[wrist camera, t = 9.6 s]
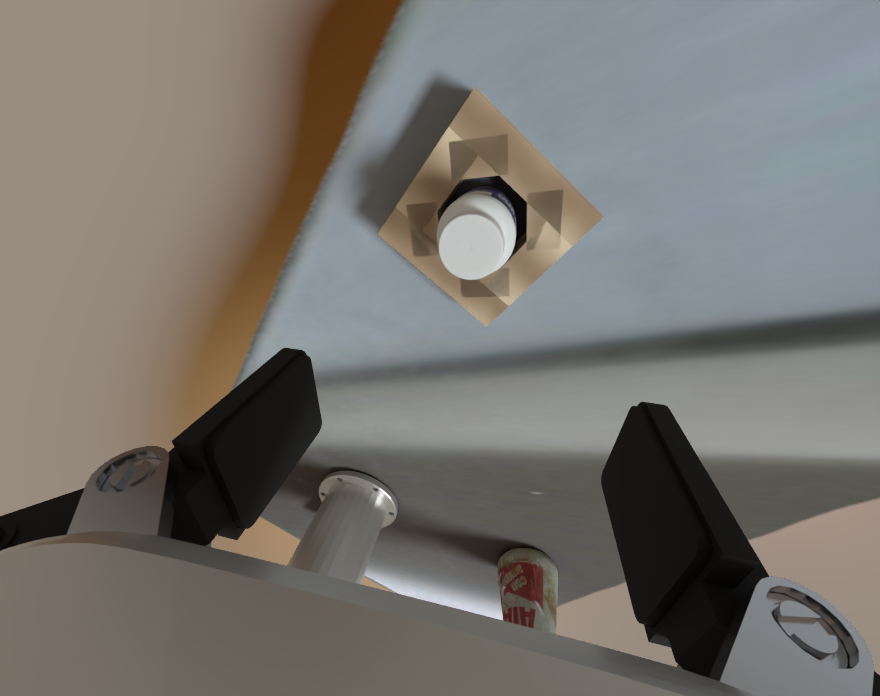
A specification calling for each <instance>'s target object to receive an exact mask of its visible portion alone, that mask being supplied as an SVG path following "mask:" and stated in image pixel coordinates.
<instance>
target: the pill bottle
mask: <svg viewBox="0 0 880 696" xmlns="http://www.w3.org/2000/svg"><path fill="white" fill-rule="evenodd" d="M515 241H516V213H515V209H514V206H513V204H512V202H511V200H510V199H509V197H508V196H507V195H506V194H505V193H504V192H502V191H501V190H499V189H497V188H494V187H490V186H480V187H476V188H473V189H471V190H469V191H467V192H466V193H464V194H463V195H462V196H461V197H459V198H458V199H457V200H456V201H454V202H453V203H452V204H450V205H449V207H448V208H447V209H446V210H445V212H444V213H443V215H442V217H441V219H440V221H439V224H438V228H437V244H438V249H439V255H440V258H441V261H442V263H443V265H444V266H445V267H446V269H447V270H448V271H449V272H450V273H452V274H453V275H455V276H457V277H459V278H461V279H466V280H476V279H480V278H483V277H485V276H487V275H489V274H491V273H493V272H495V271H496V270H498V269H499V268H501V267H502V266H503V265H504V264H505V263H506V262H507V260H508V259H509V257H510V256H511V254H512V251H513V249H514V246H515Z"/></svg>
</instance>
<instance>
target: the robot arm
mask: <svg viewBox="0 0 880 696" xmlns="http://www.w3.org/2000/svg"><path fill="white" fill-rule="evenodd" d="M321 425H322V419H321V414H320V408H319V402H318V397H317V391H316V385H315V380H314V374H313V368H312V363H311V359H310V357H309V356H307V355H306V353H305V352H304V351H303V350H297V349H290V348H283V349H282V350H280V351H279V352H278V353H277V354H276V355H274V356H273V357H272V358H271V359H270V360H268V361H267V362H266V363H265V364H264V365H262V366H261V367H260V368H259V369H258V370H256V371H255V372H254V373H253V374H252V375H250V376H249V377H248V378H247V379H246V380H244V381H243V382H242V383H241V384H240V385H238V386H237V387H236V388H235V389H234V390H232V391H231V392H230V393H229V394H228V395H226V396H225V397H224V398H223V399H222V400H221V401H219V402H218V403H217V404H216V405H214V406H213V407H212V408H211V409H210V410H209V411H207V412H206V413H205V414H204V415H202V416H201V417H200V418H199V419H198V420H196V421H195V422H194V423H193V424H192V425H191V426H189V427H188V428H187V429H186V430H184V431H183V432H182V433H181V434H180V435H179V436H177V437H176V438H175V439H174V440H172V443H173V445H174V448H173V449H172V450H171V451H170V452H167V451H166V450H165V449H164V448H161V447H158V446H146V447H140V448H135V449H132V450H129V451H127V452H124V453H122V454H120V455H118V456H116V457H114V458H112V459H110V460H109V461H107V462H106V463H104V464H103V465H101V466H100V467H99V468H98V469H97V470H96V471H95V472H94V473H93V474H92V475H91V477H90V478H89V480H88V482H87V483H86V486H85V488H83V489H80V490H77V491H74V492H72V493H68V494H65V495H62V496H59V497H57V498H53V499H50V500H48V501H44V502H42V503H39V504H36V505H33V506H30V507H27V508H24V509H21V510H18V511H15V512H12V513H9V514H6V515H3V516H0V696H880V675H878V674H877V673H876V672H874V666H873V661H872V655H871V653H870V651H869V649H868V648H867V646H866V644H865V642H864V640H863V638H862V637H861V636H860V634H859V633H858V632H857V631H856V629H855V628H854V627H853V625H852V624H851V623H850V622H849V621H848V620H847V619H846V618H845V617H844V616H843V615H842V614H841V613H840V612H839V611H838V610H837V609H836V608H835V607H834V606H832V605H831V604H830V603H828V602H827V601H826V600H825V599H823V598H822V597H821V596H819V595H818V594H817V593H815V592H813V591H811V590H810V589H808V588H806V587H804V586H802V585H801V584H799V583H796V582H793V581H791V580H788V579H785V578H780V577H772V576H771V577H769V575H768V574H767V572H766V570H765V568H764V567H763V565H762V563H761V562H760V560H759V558H758V557H757V555H756V553H755V552H754V550H753V548H752V547H751V545H750V544H749V542H748V540H747V538H746V537H745V535H744V533H743V532H742V530H741V528H740V526H739V525H738V523H737V521H736V520H735V518H734V516H733V515H732V513H731V511H730V510H729V508H728V506H727V505H726V503H725V501H724V500H723V498H722V496H721V495H720V493H719V491H718V490H717V488H716V486H715V485H714V483H713V481H712V479H711V478H710V476H709V474H708V473H707V471H706V469H705V468H704V466H703V465H702V463H701V461H700V460H699V458H698V456H697V455H696V453H695V451H694V450H693V448H692V446H691V445H690V443H689V441H688V440H687V438H686V436H685V435H684V433H683V431H682V430H681V428H680V426H679V424H678V423H677V421H676V419H675V418H674V416H673V414H672V413H671V411H670V409H669V408H668V407H667V406H665V405H660V404H654V403H647V402H641V403H639V404H638V406H632V407H631V408H630V410H629V412H628V415H627V417H626V419H625V422H624V424H623V426H622V428H621V431H620V433H619V435H618V438H617V440H616V442H615V445H614V447H613V449H612V451H611V454H610V456H609V458H608V461H607V463H606V465H605V468H604V470H603V472H602V477H601V484H602V489H603V492H604V496H605V500H606V504H607V508H608V512H609V516H610V520H611V524H612V528H613V532H614V536H615V540H616V543H617V547H618V551H619V555H620V559H621V563H622V567H623V571H624V575H625V579H626V583H627V586H628V591H629V594H630V598H631V602H632V606H633V610H634V614H635V617H636V619H637V621H638V622H639V623H642V624H644V626H645V630H646V634H647V637H648V641H649V642H652V643H656V644H660V645H664V646H668V647H671V649H672V652H673V655H674V658H675V661H676V662H677V663H678V665H677V667H674V666H670V665H666V664H663V663H659V662H655V661H652V660H648V659H645V658H641V657H638V656H634V655H630V654H626V653H623V652H620V651H615V650H612V649H609V648H605V647H602V646H598V645H594V644H590V643H587V642H583V641H579V640H576V639H572V638H568V637H564V636H560V635H556V634H552V633H548V632H545V631H541V630H537V629H533V628H529V627H525V626H521V625H518V624H514V623H510V622H506V621H502V620H498V619H494V618H491V617H487V616H483V615H479V614H475V613H471V612H467V611H463V610H460V609H456V608H452V607H448V606H444V605H440V604H436V603H432V602H428V601H424V600H420V599H416V598H412V597H408V596H404V595H401V594H397V593H393V592H389V591H385V590H380V589H377V588H373V587H369V586H365V585H361V582H362V579H363V577H364V574H365V571H366V568H367V566H368V563H369V560H370V557H371V555H372V552H373V549H374V546H375V544H376V541H377V538H378V535H379V533H380V530H381V528H383V527H386V526H388V525H390V524H391V523H392V522H393V521H394V520H395V518H396V515H397V512H398V503H397V500H396V498H395V496H394V495H393V493H392V492H391V491H390V490H389V489H388V488H387V487H386V486H385V485H384V484H382V483H381V482H380V481H378V480H376V479H374V478H373V477H371V476H368V475H366V474H363V473H359V472H354V471H337V472H333V473H331V474H329V475H327V476H326V477H325V478H324V479H323V481H322V483H321V485H320V487H319V496H320V499H321V501H322V504H321V505H320V507H319V509H318V511H317V513H316V514H315V516H314V518H313V520H312V522H311V523H310V525H309V527H308V529H307V531H306V532H305V534H304V536H303V538H302V540H301V541H300V543H299V545H298V547H297V548H296V550H295V552H294V554H293V556H292V558H291V559H290V561H289V563H288V565H287V566H285V565H281V564H277V563H273V562H269V561H264V560H260V559H257V558H253V557H248V556H244V555H240V554H236V553H232V552H228V551H224V550H219V549H215V548H211V541H212V540H213V539H214V538H215V536H216V535H217V534H218V535H219V536H223V537H227V538H231V539H235V540H238V538H239V537H240V536H241V534H242V533H243V531H244V530H245V529H246V528H247V529H248V528H250V527H251V526H252V525H253V524H254V523H255V522H256V520H257V519H258V518H259V516H260V515H261V513H262V512H263V510H264V509H265V508H266V506H267V505H268V503H269V502H270V501H271V499H272V498H273V496H274V495H275V494H276V492H277V491H278V489H279V488H280V487H281V485H282V484H283V482H284V481H285V479H286V478H287V477H288V475H289V474H290V472H291V471H292V470H293V468H294V467H295V465H296V464H297V463H298V461H299V460H300V458H301V457H302V455H303V454H304V453H305V451H306V450H307V448H308V447H309V446H310V444H311V443H312V441H313V440H314V439H315V437H316V436H317V434H318V433H319V431H320V429H321Z"/></svg>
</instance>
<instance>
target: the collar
mask: <svg viewBox="0 0 880 696" xmlns="http://www.w3.org/2000/svg"><path fill="white" fill-rule="evenodd" d="M490 176H500V177H501V178H502V179H503V180H504V181H505V182H506V183H507V184H508V185H510V186H511V187H512V188H513V189H514V190H515V191H516V192H517V193H518V194H519V195H520V196H521V197H522V198H523V199H524V200H525V201H526V232H525V233H524V234H523V236H522V237H521V238H520V239H519V240H518V241H517V242H516V243H515V246H514V249H513V251H512V254H511V256H510V257H509V259H508V260H507V262H506V263H505V264H504V265H503V266H502V267H501V268H499V269H498V270H496V271H495V272H493V273H491V274H489V275H487V276H485V277H483V278H480V279H476V280H466V279H461V278H459V277H457V276H455V275H453V274H452V273H450V272H449V271H448V270H447V269H446V267H445V266H444V265H443V263H442V261H441V258H440V255H439V249H438V244H437V228H438V224H439V221H440V219H441V217H442V215H443V213H444V212H445V210H446V204H447V202H448V201H449V200H450V198H451V197H452V196H453V194H454V193H455V192H456V190H457V189H458V188H459V186H460V185H461V184H462V182H463V181H464V180H465V179H472V178H481V177H490ZM602 218H603V216H602V215H601V214H600V213H599V212H598V211H597V210H596V209H595V208H594V207H593V206H592V205H591V204H590V203H589V202H588V201H587V200H586V198H585V197H584V196H583V195H582V194H581V193H580V192H579V191H578V190H577V189H576V188H575V187H574V186H573V185H572V184H571V183H570V182H569V181H568V180H567V179H566V178H565V177H564V176H563V175H562V174H561V173H560V172H559V171H558V170H557V169H556V168H555V167H554V166H553V165H552V164H551V163H550V162H549V161H548V160H547V159H546V158H545V157H544V156H543V155H542V154H541V153H540V152H539V151H538V150H537V149H536V148H535V147H534V146H533V145H532V144H531V143H530V142H529V141H528V140H527V139H526V138H525V137H524V135H523V134H522V133H521V132H520V131H519V130H518V129H517V128H516V127H515V126H514V125H513V124H512V123H511V122H510V121H509V120H508V119H507V118H506V117H505V116H504V115H503V114H502V113H501V112H500V111H499V110H498V109H497V108H496V107H495V106H494V105H493V104H492V103H491V102H490V101H489V100H488V99H487V98H486V97H485V96H484V95H483V94H482V93H481V92H480V91H479V90H478V89H477V88H476V87H475V88H474V89H473V91H472V92H471V94H470V95H469V97H468V98H467V100H466V101H465V103H464V104H463V106H462V107H461V109H460V110H459V112H458V113H457V115H456V116H455V118H454V119H453V121H452V122H451V124H450V126H449V127H448V129H447V130H446V132H445V133H444V135H443V136H442V138H441V139H440V141H439V142H438V144H437V145H436V147H435V148H434V150H433V151H432V153H431V154H430V156H429V157H428V159H427V160H426V162H425V163H424V165H423V166H422V168H421V169H420V171H419V172H418V174H417V175H416V177H415V178H414V180H413V181H412V183H411V184H410V186H409V187H408V189H407V190H406V192H405V193H404V195H403V196H402V198H401V199H400V201H399V202H398V204H397V205H396V207H395V208H394V210H393V211H392V213H391V214H390V216H389V217H388V219H387V220H386V222H385V224H384V225H383V227H382V228H381V230H380V231H379V233H378V235H379V236H380V237H381V238H382V239H383V240H385V241H386V242H387V243H388V244H389V245H391V246H392V247H393V248H394V249H395V250H396V251H398V252H399V253H400V254H401V255H402V256H404V257H405V258H406V259H407V260H408V261H409V262H411V263H412V264H413V265H414V266H415V267H417V268H418V269H419V270H420V271H421V272H422V273H424V274H425V275H426V276H427V277H428V278H430V279H431V280H432V281H433V282H434V283H435V284H437V285H438V286H439V287H440V288H441V289H443V290H444V291H445V292H446V293H447V294H448V295H450V296H451V297H452V298H453V299H454V300H456V301H457V302H458V303H459V304H460V305H461V306H463V307H464V308H465V309H466V310H467V311H469V312H470V313H471V314H472V315H473V316H474V317H476V318H477V319H478V320H479V321H480V322H481V323H483V324H484V325H485V326H486V327H487V326H488V325H489V324H490V323H491V322H492V321H493V320H494V319H495V318H496V317H498V316H499V315H500V314H501V313H502V312H503V311H504V310H505V309H506V308H507V307H508V306H509V305H510V304H511V303H512V302H513V301H515V300H516V299H517V298H518V297H519V296H520V295H521V294H522V293H523V292H524V291H525V290H526V289H527V288H528V287H529V286H530V285H532V284H533V283H534V282H535V281H536V280H537V279H538V278H539V277H540V276H541V275H542V274H543V273H544V272H545V271H546V270H547V269H549V268H550V267H551V266H552V265H553V264H554V263H555V262H556V261H557V260H558V259H559V258H560V257H561V256H562V255H563V254H564V253H566V252H567V251H568V250H569V249H570V248H571V247H572V246H573V245H574V244H575V243H576V242H577V241H578V240H579V239H580V238H581V237H582V236H584V235H585V234H586V233H587V232H588V231H589V230H590V229H591V228H592V227H593V226H594V225H595V224H596V223H597V222H598V221H599V220H601V219H602Z"/></svg>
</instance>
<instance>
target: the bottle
mask: <svg viewBox="0 0 880 696" xmlns="http://www.w3.org/2000/svg"><path fill="white" fill-rule="evenodd" d="M498 575H499V580H498V584H499V587H500V596H501V606H502V613H503V621H506V622H510V623H514V624H518V625H521V626H525V627H529V628H533V629H537V630H541V631H545V632H548V633H552V634H556V615H557V594H558V572H557V569H556V566H555V565H554V563H553V562H552V561H551V559H550V557H548V555H546V554H545V553H544V552H542V551H539V550H536V549H531V548H520V547H519V548H514V549H511V550H509V551H507V552H506V553H504V554H503V555H502V556H501V557H500V559H499V561H498Z"/></svg>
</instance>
